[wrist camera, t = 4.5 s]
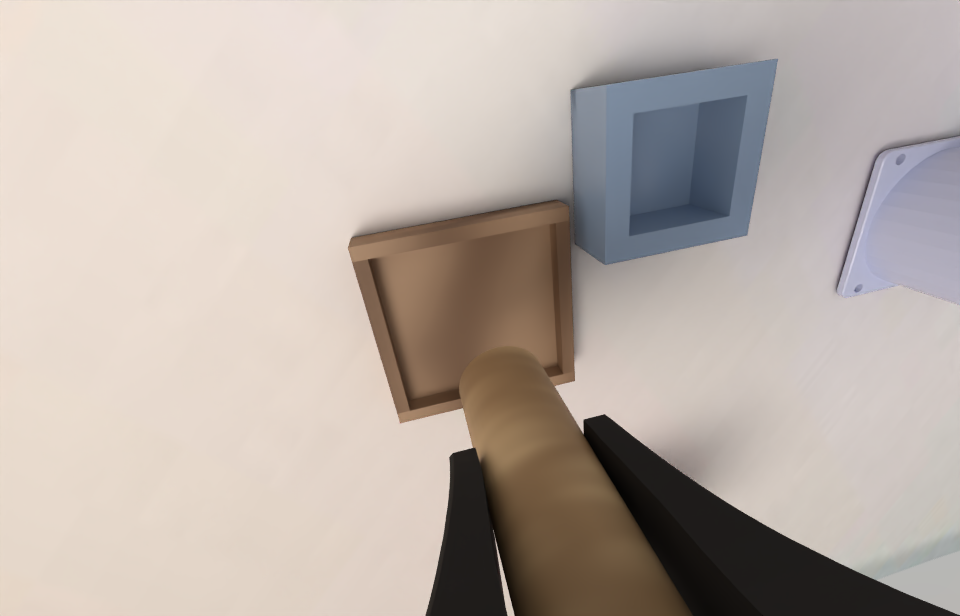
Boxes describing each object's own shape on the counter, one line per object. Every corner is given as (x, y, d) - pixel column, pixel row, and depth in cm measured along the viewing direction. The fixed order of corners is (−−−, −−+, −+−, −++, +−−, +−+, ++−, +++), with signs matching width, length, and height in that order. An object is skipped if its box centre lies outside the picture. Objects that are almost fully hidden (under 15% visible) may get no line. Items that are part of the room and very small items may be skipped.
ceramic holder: (716, 67, 17) (778, 58, 14) (698, 218, 20) (747, 235, 17) (570, 89, 16) (606, 85, 13) (574, 243, 19) (605, 265, 16)
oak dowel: (541, 338, 13) (764, 666, 5) (544, 407, 15) (726, 751, 7) (453, 356, 13) (553, 736, 5) (464, 426, 14) (557, 812, 6)
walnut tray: (556, 199, 18) (569, 206, 16) (564, 365, 22) (574, 380, 21) (351, 238, 17) (347, 247, 15) (399, 404, 21) (400, 423, 20)
